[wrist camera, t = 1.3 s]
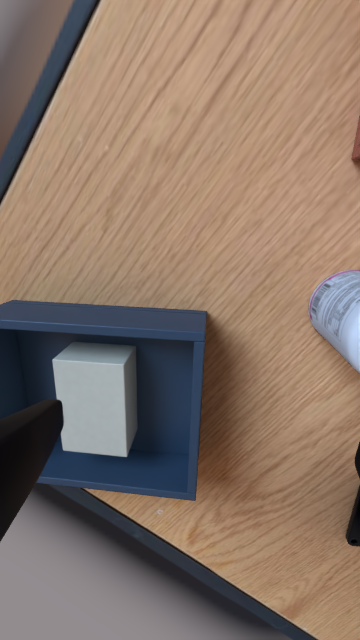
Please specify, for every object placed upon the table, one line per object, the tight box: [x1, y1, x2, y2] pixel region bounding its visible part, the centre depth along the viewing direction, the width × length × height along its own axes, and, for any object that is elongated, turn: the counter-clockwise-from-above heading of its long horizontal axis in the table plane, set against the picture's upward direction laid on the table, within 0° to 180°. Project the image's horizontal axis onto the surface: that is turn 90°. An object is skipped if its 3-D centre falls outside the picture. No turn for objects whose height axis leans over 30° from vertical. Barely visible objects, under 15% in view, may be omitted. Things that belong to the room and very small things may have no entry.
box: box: [0, 300, 207, 501], centre depth 21 cm, size 12×14×4 cm
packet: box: [52, 342, 138, 457], centre depth 21 cm, size 7×5×3 cm, turn 178°
